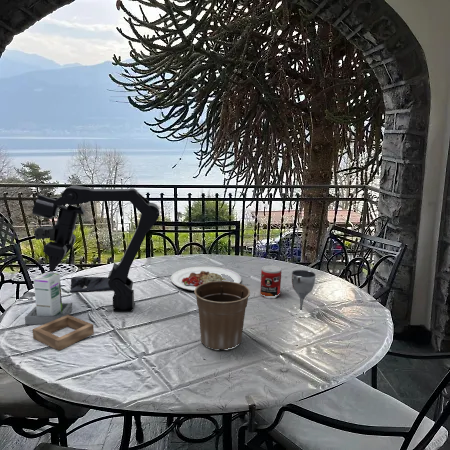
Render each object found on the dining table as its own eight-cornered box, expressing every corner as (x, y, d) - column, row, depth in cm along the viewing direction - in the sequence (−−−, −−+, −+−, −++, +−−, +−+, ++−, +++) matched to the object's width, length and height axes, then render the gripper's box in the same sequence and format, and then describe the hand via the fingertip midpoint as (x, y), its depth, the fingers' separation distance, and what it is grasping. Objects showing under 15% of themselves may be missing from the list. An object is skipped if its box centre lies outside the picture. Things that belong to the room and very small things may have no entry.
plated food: (253, 279, 171) (254, 272, 170) (215, 301, 146) (216, 292, 145) (198, 266, 186) (198, 259, 185) (155, 284, 161) (155, 276, 161)
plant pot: (229, 362, 105) (231, 306, 102) (182, 344, 114) (183, 292, 110) (257, 337, 119) (259, 288, 116) (213, 323, 127) (214, 277, 124)
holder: (72, 309, 134) (71, 303, 134) (61, 324, 124) (60, 317, 123) (39, 309, 134) (39, 302, 133) (25, 324, 123) (24, 317, 122)
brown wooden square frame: (68, 323, 125) (67, 314, 124) (93, 333, 118) (93, 324, 118) (33, 338, 115) (32, 329, 114) (59, 350, 108) (58, 340, 108)
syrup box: (52, 321, 125) (49, 279, 122) (36, 319, 126) (33, 277, 123) (63, 314, 131) (60, 273, 128) (47, 312, 132) (44, 271, 129)
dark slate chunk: (124, 293, 151) (124, 282, 150) (66, 293, 149) (65, 282, 148) (130, 279, 166) (130, 269, 165) (77, 279, 164) (77, 269, 163)
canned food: (257, 296, 151) (259, 269, 148) (263, 290, 158) (264, 264, 156) (276, 300, 148) (278, 272, 145) (282, 293, 155) (283, 266, 153)
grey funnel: (314, 311, 139) (317, 271, 135) (309, 320, 132) (312, 278, 128) (292, 307, 142) (295, 268, 139) (286, 315, 135) (289, 274, 132)
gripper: (48, 211, 134) (37, 253, 137) (31, 222, 116) (19, 270, 119) (80, 220, 137) (70, 260, 139) (69, 232, 119) (57, 278, 121)
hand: (54, 267), depth 130 cm, fingers open, 9 cm apart
